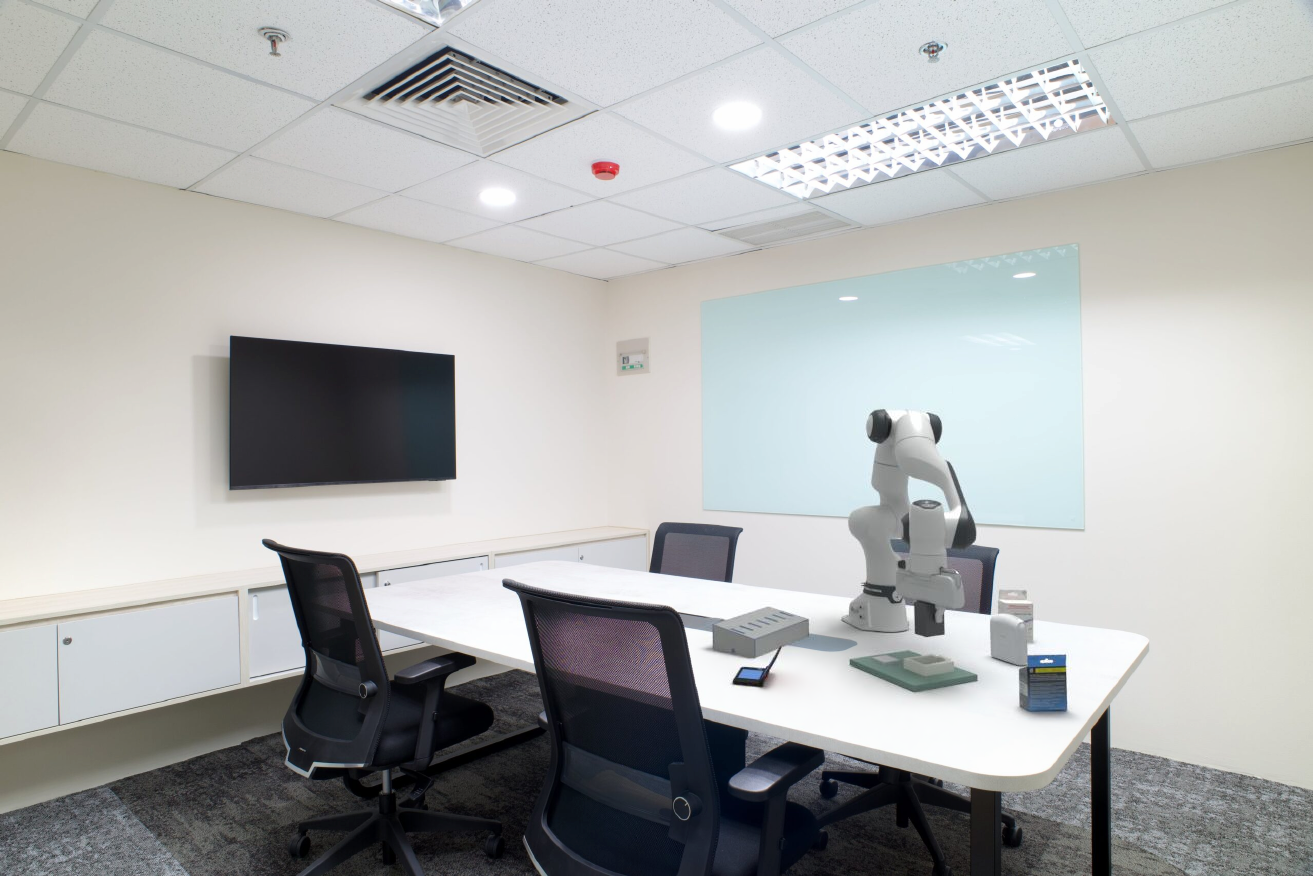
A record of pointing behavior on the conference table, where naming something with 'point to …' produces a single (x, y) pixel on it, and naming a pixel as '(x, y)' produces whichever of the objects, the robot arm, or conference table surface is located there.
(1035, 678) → the label tape cartridge
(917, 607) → the plug
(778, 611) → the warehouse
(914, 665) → the board
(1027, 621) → the ink cartridge box
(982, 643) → the conference table surface
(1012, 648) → the photo printer
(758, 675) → the handheld game console
